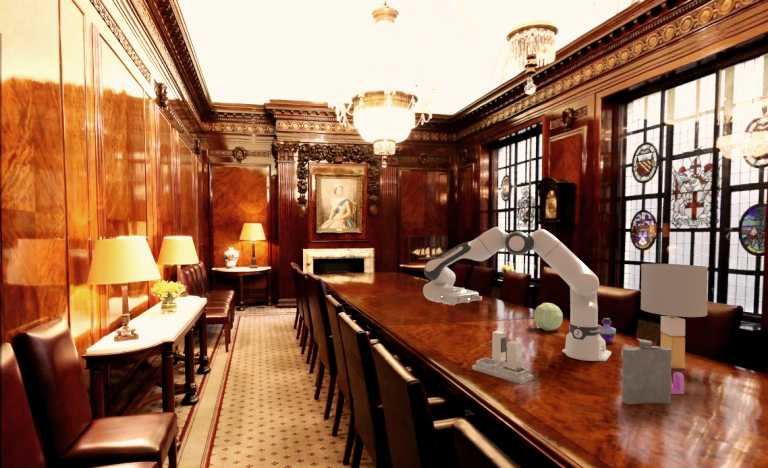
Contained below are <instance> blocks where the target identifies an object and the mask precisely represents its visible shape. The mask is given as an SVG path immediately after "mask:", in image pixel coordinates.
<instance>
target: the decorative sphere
mask: <svg viewBox="0 0 768 468" xmlns="http://www.w3.org/2000/svg"><path fill="white" fill-rule="evenodd" d="M563 317H564V315H563V312H562V310H561V309H560V307H559V306H558V305H556V304H554V303H551V302H543V303H541V304H540V305H538V306H537V307H536V309H535V310H534V313H533V320H534V322H535V324H536V326H537V327H538V328H540V329H542V330H544V331H546V332H549V331H550V332H552V331H555V330H557V329H558V328H560V327H561V326H562V323H563Z"/></svg>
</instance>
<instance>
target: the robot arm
mask: <svg viewBox="0 0 768 468" xmlns="http://www.w3.org/2000/svg"><path fill="white" fill-rule="evenodd" d="M503 249H505V250H507V252H508V253H510V254H512V255H515V256H523V255H525V254H526V253H528V252H530V251H533V252H535V253H536V254H537V255H538V256H539V257H540V258H541V259H542V260H543V261H544V262H545V263H546V264H548V266H549V267H551V268H552V270H554V272H555V273H556V274H558V276H559V277H560V278H561V279H562V280H563V281H564V282H565V283H566V284H567V285H568V286H569V296H570V298H569V300H570V301H569V302H570V304H569V306H570V313H569V314H570V315H569V317H570V319H569V321H570V323H569V324H568V333H567V334H566V336H565V347H564V349H562V353H564V354H565V355H566V356H567V357H568V358H572V359H576V360H580V361H589V362H590V361H591V362H606V361H608V359H609V358H610V356H611V355H612V351H611V350H608V349H607V347H606V344H607V343H605V340H604V339H603V338H602V337H601V336H600V335H599V333H600V332H599V330H600V329H601V326H602V325H601V324H599V323H598V321H599V319H598V316H599V315H598V314H599V313H598V312H599V306H598V290H599V287H600V281H599V278H598V276H597V275H596V274H595V273H594V272H593V270H591V269H590V268H589V267H588V266H587V265H586V264H585V263H584V262H583V261H582V260H580V258H578V256H577V255H575V253H574V252H572V251H571V250H570V249H569V248H568V247H567V246H566V245H565V244H564V243H563V242H562V241H560V240H559V239H558V238H557V237H556V236H555V235H553V234H552V233H550V232H549V231H547V230H546V229H544V228H539V229H537V230H535V231H534V232H532V233H531V234H530V233H525V232H523V231H517V230H516V231H513V232H509V233H507V232H506V230H504V228H502V227H500V226H494V227H492V228H490V229H488V230H486V231H485V232H483V233H482V234H480V235H479V236H477V237H475V238H474V239H473V240H471V241H468V242H462V243H460V244H458V245H456V246H454V247H453V248H451V249H449V250H447V251H445V252H444V253H442V254H441V255H439V256H437V257H434V258H431V259H429V260H428V261H427V262H426V263H425V265H424V267H423V274H424V276H425V278H428V279H429V280H430V281H429V282H428V283H426V284H424V286H423V287H422V294H423V296H424V297H425V298H426V299H427V300H428V301H432V302H435V303H442V304H443V305H449V306H455V305H457V304H462V303H467V304H469V303H470V302H473V301H474V302H475V301H481V302H482V300H483V296H482V295H481V296H480V294H479V292H478V291H476V290H471V289H467V288H466V289H465V287H459V286H454V285H455V283H456V277H457V275H456V274H455V272H454V271H453V270H452V269H450V268H449V267H448V266H449V265H452V264H453V263H455V262H457V261H459V260H461V259H468V260H472V261H475V262H476V261H477V262H484V261H486V260H488V259H489V258H491V257H492V256H493V255H495V254H496V253H497V252H499V251H501V250H503Z"/></svg>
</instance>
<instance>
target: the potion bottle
mask: <svg viewBox="0 0 768 468" xmlns="http://www.w3.org/2000/svg"><path fill="white" fill-rule="evenodd" d="M612 322H613V321H612V320H611V318H609V317H604V318H603V319H602V320H601V324H603V326H602V325H601V329H600V330H599V332H600V333H599V335H600V336H601V337H602V338H603V339H604V340H605V343H606V344H613V342H614V339H615V338H616V337H617V336H616V335H617V333H616V332H617V329H616V328H615V327H612V326H611V325H612Z"/></svg>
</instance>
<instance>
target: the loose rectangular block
mask: <svg viewBox="0 0 768 468" xmlns="http://www.w3.org/2000/svg"><path fill="white" fill-rule="evenodd" d="M491 333H492V335H491V338H492V340H491V342H492V344H491V345H492V346H491V347H492V348H491V349H492V350H491V351H492V355H491V359H494V360H497V361H501V362H504V361H506V347H507V336H506V335H507V333H506V332H505V331H500V330H495V331H492V332H491Z"/></svg>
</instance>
